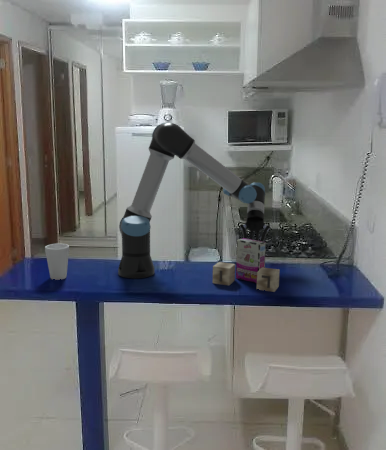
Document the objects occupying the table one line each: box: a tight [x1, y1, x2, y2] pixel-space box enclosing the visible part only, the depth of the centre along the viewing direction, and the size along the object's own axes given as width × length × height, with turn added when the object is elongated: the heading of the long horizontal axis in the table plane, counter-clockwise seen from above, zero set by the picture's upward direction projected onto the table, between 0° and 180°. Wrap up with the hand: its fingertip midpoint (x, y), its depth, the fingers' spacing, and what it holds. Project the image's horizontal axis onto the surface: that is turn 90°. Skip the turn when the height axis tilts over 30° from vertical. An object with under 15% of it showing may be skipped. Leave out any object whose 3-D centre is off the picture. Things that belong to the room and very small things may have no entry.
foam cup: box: [44, 243, 70, 281], centre depth 197 cm, size 10×9×13 cm
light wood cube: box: [256, 267, 280, 293], centre depth 188 cm, size 7×7×7 cm
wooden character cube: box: [212, 261, 236, 286], centre depth 195 cm, size 7×7×7 cm
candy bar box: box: [235, 237, 267, 284], centre depth 196 cm, size 11×5×16 cm, turn 49°
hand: (253, 259), depth 204 cm, fingers closed
